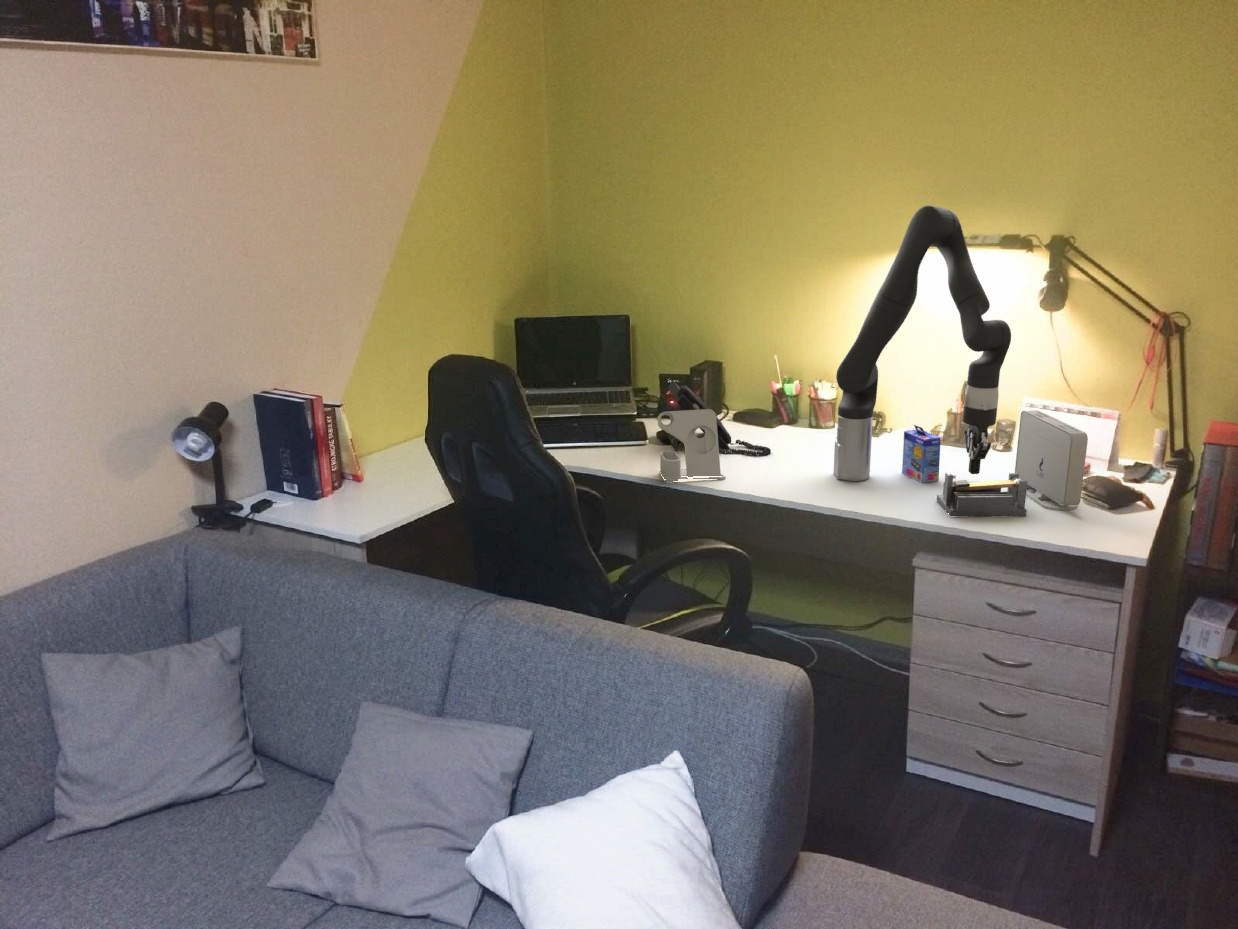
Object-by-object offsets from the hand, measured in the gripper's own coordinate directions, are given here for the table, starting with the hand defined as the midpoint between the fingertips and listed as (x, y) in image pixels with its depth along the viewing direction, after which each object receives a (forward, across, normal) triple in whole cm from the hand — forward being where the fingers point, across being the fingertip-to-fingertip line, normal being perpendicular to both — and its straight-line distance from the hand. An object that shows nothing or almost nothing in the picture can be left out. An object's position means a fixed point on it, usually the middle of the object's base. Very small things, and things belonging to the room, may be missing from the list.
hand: (973, 473), depth 237 cm
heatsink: (+9, 0, +2) cm, 10 cm away
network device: (+9, -8, +21) cm, 25 cm away
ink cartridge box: (+10, -26, -6) cm, 28 cm away
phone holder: (+10, -29, -68) cm, 74 cm away
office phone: (+10, -60, -59) cm, 85 cm away
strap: (+4, 0, +4) cm, 6 cm away
